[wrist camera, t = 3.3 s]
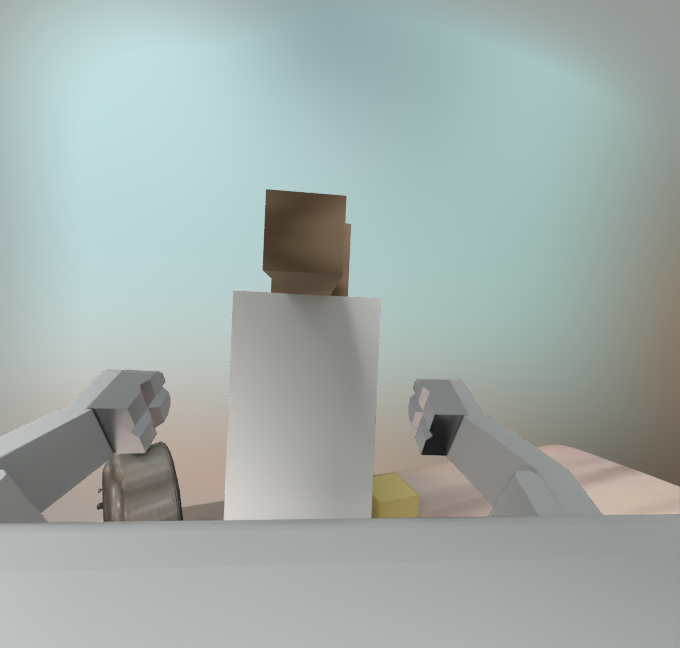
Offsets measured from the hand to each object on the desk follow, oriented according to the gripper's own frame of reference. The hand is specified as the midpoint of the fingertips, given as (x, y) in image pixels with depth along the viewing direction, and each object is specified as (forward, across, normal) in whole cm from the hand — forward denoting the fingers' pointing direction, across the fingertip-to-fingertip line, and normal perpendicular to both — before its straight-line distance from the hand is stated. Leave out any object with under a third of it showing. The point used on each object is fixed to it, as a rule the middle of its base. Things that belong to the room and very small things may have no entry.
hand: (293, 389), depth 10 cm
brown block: (+15, 0, +3) cm, 15 cm away
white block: (+7, 0, +29) cm, 30 cm away
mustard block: (+10, -10, +31) cm, 34 cm away
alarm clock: (+4, +14, +27) cm, 31 cm away
